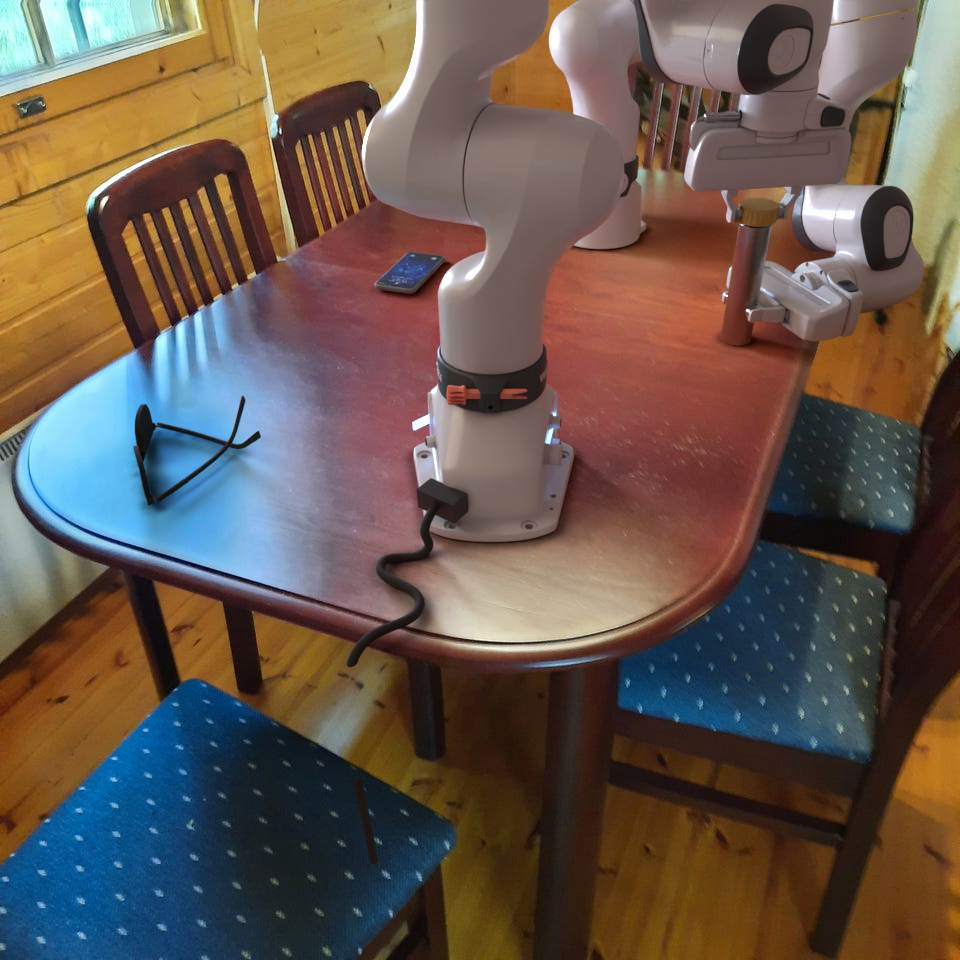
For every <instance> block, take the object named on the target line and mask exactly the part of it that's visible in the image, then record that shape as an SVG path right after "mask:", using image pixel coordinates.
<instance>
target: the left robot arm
mask: <svg viewBox="0 0 960 960" xmlns="http://www.w3.org/2000/svg"><path fill="white" fill-rule="evenodd" d="M833 4H834V0H634V5H635V9H636V14H637V21H638V43H639V52H640V56H641V60H642V61H641V62H642V64H643V67H644V70H645V71H646V72H647V74H648V75H649V77H650V78H651V79H652V80H653V81H655V82H658V83H660V84H668V85H680V86H692V87H697V88H701V89H708V90H713V91H716V92H717V91H719V92H725V93H730V94H737V95H740V96H739V102H738V108H737V110H726V111H720V112H715V111H709V112H705V113H703V115H702V116H699V117H698V118H696V119H695V120H694V121H693V122H692V124H691V125H690V130H689V139H688V144H689V150H688V154H687V158H686V161H685V162H686V163H685V167H684V175H683V178H684V182H685V183H686V185H687V186H688V187H689V188H690V189H691V190H692V191H693V192H695V193H703V192H705V193H706V192H720V194H721V196H722V197H721V198H723V201H724V203H725V205H726V207H727V210H726V214H725V219H726V220H725V221H726V222H727V223H729V224H736V223H738V224H739V222H741V219H742V218H741V216H742V213H743V210H742V209H741V208H740V207H739V205H736V204H735V202H734V199H737V198H738V192H739V191H740V190H759V189H761V190H762V189H778V188H779V189H780V188H783V189H784V190H785V191H786V192H785V193H784V195H783V197H782V198H781V200H780V201H779V202H777V203H778V204H779V208H778V209H779V212H778V217H777V221H787V220H788V218H789V217H788V216H789V211H790V208H791V207H792V206H794V204H795V201H796V200H797V198H798V197H799V196H800V195H801V190H802V186H814V185H833V184H838V183H839V182H840V181H841V180H842V179H843V178H844V177H845V176H846V174H847V171H848V167H849V162H850V156H851V148H852V135H851V132H850V129H849V130H848V129H847V128H845V127H847V126H849V125H851V123H852V121H853V118H854V114H853V110H852V109H850V108H849V107H848V106H846V105H845V104H843V103H841V102H839V101H837V100H835V99H833V98H830V97H828V96H825V95H823V94H820V93H817V91H818V86H819V68H820V64H821V60H822V55H823V52H824V50H825V48H826V45H827V41H828V36H829V31H830V26H832V24H831V19H832V12H833ZM549 16H550V0H416V28H415V38H414V39H415V41H414V47H413V51H412V56H411V59H410V63H409V66H408V68H407V72H406V74H405V76H404V79H403V80H402V82H401V84H400V86H399V88H398V89H397V91H396V92H395V94H394V95H393V96H392V97H391V99H390V100H388V101H387V102H386V103H385V104H384V105H383V106H382V107H380V109H379V110H378V111H377V112H376V113H375V115H374V116H373V117H372V119H371V120H370V123H368V125H367V128H366V130H365V134H364V137H363V142H362V147H361V148H362V149H361V163H362V168H363V169H362V170H363V174H364V177H365V180H366V182H367V185H368V187H369V189H370V191H371V193H372V194H373V195H374V197H375V198H376V199H377V200H378V201H380V202H381V203H383V204H385V205H387V206H390V207H393V208H395V209H397V210H399V211H402V212H405V213H408V214H409V215H412V216H414V217H415V216H416V217H417V218H421V219H428V220H435V221H440V222H448V223H453V224H454V223H455V224H462V225H466V226H467V225H469V226H475V227H478V228H481V229H483V230H484V233H485V249H484V250H481V251H479V252H477V253H473V254H471V255H469V256H467V257H465V258H462V259H461V260H459V261H458V262H455V263H454V264H453V265H452V266H451V267H450V268H449V269H448V270H447V271H446V273H445V274H444V275H443V277H442V278H441V281H440V284H439V287H438V290H437V307H438V324H439V326H438V327H439V340H440V341H439V342H440V345H439V346H438V348H437V354H436V356H437V358H436V363H435V364H436V376H437V384H436V385H435V387H434V386H433V388H432V389H431V390H430V391H428V392H427V406H428V407H427V409H428V414H427V415H425V416H422V417H420V418H418V419H416V420H414V421H412V430H413V431H417V430H418V429H420V428H422V427H425V426H426V425H428V424H429V435H426V436H425V438H424V442H422V443H419V444H417V445H416V446H415V447H414V448H413V454H412V455H413V457H412V458H413V464H414V470H415V475H416V476H415V477H416V480H417V488H416V500H417V508H419V509H420V510H422V516H423V518H422V520H421V523H420V529H419V533H420V538H421V540H422V542H423V547H422V548H421V549H419V550H416V551H412V552H396V553H395V552H394V553H388V554H385V555H383V556H381V557H380V558H379V559H378V560H377V563H376V565H375V566H376V567H375V571H376V574H377V576H378V577H379V579H381V581H383V582H384V583H386V584H388V585H389V586H392V587H393V588H396V589H397V590H400V591H401V592H404V593H405V594H407V595H409V596H410V597H411V598H412V599H413V600H414V607H413V608H412V609H411V611H409V612H408V613H406V614H404V615H403V616H400V617H398V618H396V619H393V620H390V621H388V622H385V623H384V624H381V625H379V626H377V627H374V628H372V629H371V630H370V631H368V632H367V633H365V634H364V635H363V636H362V637H361V638H360V639H359V640H358V641H357V642H356V643H355V645H354V646H353V647H352V649H351V651H350V653H349V655H348V658H347V660H346V667H348V668H354V667H356V665H357V664H358V662H359V660H360V659H361V656H362V655H363V653H364V651H365V650H366V649H367V648H368V647H369V646H370V645H371V644H372V643H374V642H375V641H376V640H378V639H380V638H381V637H383V636H385V635H387V634H390V633H392V632H395V631H397V630H400V629H403V628H405V627H408V626H409V625H411V624H412V623H414V622H416V621H417V620H418V619H419V618H420V617H421V615H422V614H423V612H424V609H425V605H426V602H425V601H426V600H425V597H424V596H423V593H422V591H420V590H419V588H417V587H416V586H414V585H413V584H411V583H409V582H407V581H405V580H403V579H401V578H399V577H397V576H394V575H393V574H392V573H390V572H388V571H387V570H386V568H387V565H389V564H391V563H392V564H393V563H408V562H416V561H420V560H423V559H425V558H426V557H427V556H429V554H431V552H432V551H433V549H434V540H433V538H432V536H431V533H432V534H434V535H437V536H440V537H443V538H448V539H452V540H457V541H466V542H477V543H478V542H480V543H500V542H501V543H502V542H503V543H506V542H518V541H527V540H531V539H536V538H539V537H543V536H546V535H548V534H550V533H552V532H554V531H556V530H557V527H558V525H559V520H560V518H561V517H560V516H561V512H562V508H563V504H564V500H565V497H566V492H567V488H568V483H569V480H570V476H571V472H572V469H573V468H572V467H573V464H574V459H575V450H574V447H573V446H571V445H570V444H568V443H566V442H563V441H561V439H560V438H558V430H560V429H561V428H562V416H559V392H557V391H556V390H555V389H554V388H553V387H552V386H551V385H550V384H549V383H548V382H547V379H548V367H549V361H548V356H547V355H548V354H547V353H548V351H547V347H546V345H545V344H544V332H545V331H544V330H545V329H544V328H545V315H546V303H547V298H548V290H549V286H550V281H551V279H552V276H553V274H554V272H555V269H556V268H557V266H558V264H559V263H560V261H561V260H562V258H564V255H565V254H566V253H567V252H568V251H569V250H570V249H571V248H572V247H574V246H573V245H574V244H575V243H577V242H578V241H579V240H581V239H582V238H584V237H585V236H587V235H589V234H591V233H592V232H594V231H595V230H596V229H598V228H599V227H600V226H601V225H602V224H603V223H604V222H605V221H606V220H607V219H608V217H609V216H610V215H611V213H612V212H613V210H614V208H615V207H616V205H617V203H618V200H619V198H620V195H621V192H622V187H623V182H624V162H623V156H622V152H621V149H620V146H619V144H618V141H617V139H616V138H615V136H614V134H613V133H612V131H611V130H610V128H609V127H608V126H606V125H604V124H602V123H599V122H596V121H593V120H590V119H588V118H585V117H582V116H578V115H575V114H573V112H568V111H565V110H562V109H554V108H553V109H552V108H542V107H530V106H522V105H509V104H500V103H499V104H498V103H496V102H493V99H492V82H493V76H494V74H495V70H497V69H500V68H501V67H504V66H506V65H507V64H509V63H511V62H512V61H514V60H516V59H518V58H519V57H521V56H522V55H524V54H525V53H527V52H528V51H530V50H531V49H532V48H533V47H534V46H535V45H536V44H537V42H539V40H540V38H541V36H542V35H543V34H544V31H545V28H546V26H547V23H548V20H549ZM849 127H850V126H849ZM352 782H353V786H354V793H355V798H356V802H357V808H358V813H359V817H360V823H361V826H362V832H363V837H364V841H365V847H366V852H367V856H368V857H367V858H368V862H370V863H371V864H373V865H374V864H376V863H377V862H378V863H379V859H378V851H377V846H376V840H375V835H374V831H373V826H372V822H371V817H370V812H369V811H370V810H369V806H368V801H367V796H366V795H367V794H366V790H365V784H364V778H363V777H360V778H357V779H354V780H353V781H352ZM370 863H369V864H370Z"/></svg>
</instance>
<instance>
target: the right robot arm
mask: <svg viewBox="0 0 960 960" xmlns="http://www.w3.org/2000/svg"><path fill="white" fill-rule="evenodd" d="M917 31H918V0H834V4H833V12H832V19H831V25H830V31H829V36H828V41H827V45H826V48H825V50H824V52H823V54H822V56H821V59H820V64H819V86H818V91H817V93H820V94H823V95H825V96H828V97H830V98H833V99H835V100H837V101H839V102H841V103H843V104H845V105H846V106H848V107H849V108H850V109H852V110H853V115H854V114H855V113H856V112H857V109H858V108H859V107H860V106H861V105H862V104H863V103H864V102H865V101H866V100H867V99H868V98H871V96H873V95H874V94H876V93H878V92H880V91H882V89H884V88H886V87H887V86H888V85H890V84H891V83H892V82H893V81H894V80H895V79H896V78H897V77H898V76H899V75H900V74H901V73H902V72H903V71H904V69H905V68H906V67H907V65H908V64H909V62H910V61H911V58H912V57H913V52H914V49H915V45H916V39H917ZM548 47H549V52H550V55H551V58H552V60H553V62H554V64H555V65H556V67H557V68H558V69H559V71H561V72H562V73H563V75H564V77H565V79H566V81H567V85H568V88H569V93H570V97H571V104H572V114H575V115H578V116H582V117H585V118H588V119H590V120H593V121H596V122H599V123H602V124H604V125H606V126H608V127H609V128H610V130H611V131H612V133H613V134H614V136H615V138H616V139H617V141H618V144H619V146H620V149H621V152H622V156H623V162H624V182H623V187H622V192H621V195H620V198H619V200H618V203H617V205H616V207H615V208H614V210H613V212H612V213H611V215H610V216H609V217H608V219H607V220H606V221H605V222H604V223H603V224H602V225H601V226H600V227H599V228H598V229H596V230H595V231H594V232H592V233H591V234H589V235H587V236H585V237H584V238H582V239H581V240H579V241H578V242H577V243H575V244H574V245H573V246H572V247H578V248H582V249H591V250H610V249H618V248H624V247H626V246H630V245H632V244H634V243H635V242H637V241H638V240H639V238H640V235H641V234H642V233H643V232H645V231H646V230H647V223H646V222H645V221H642V201H643V200H642V198H643V197H642V194H643V190H642V185H641V184H640V183H639V182H638V181H637V179H638V176H639V174H638V173H639V169H640V163H639V160H640V159H639V155H638V145H639V143H638V142H639V131H640V119H641V109H640V106H639V104H638V103H637V102H636V99H633V97H632V93H631V90H630V84H629V77H628V69H629V66H630V65H634V64H637V63H640V62H642V60H641V56H640V52H639V43H638V21H637V14H636V9H635V5H634V0H577V1H575V2H573V3H572V4H571V5H569V6H568V7H566V8H565V9H563V10H561V12H560V13H559V14H557V16H556V17H555V18H554V19H553V21H552V24H551V26H550V30H549V35H548ZM850 125H851V124H850ZM850 125H849V126H847V127H845V128H847V129H848V130H849V131H850ZM791 214H792V215H791V226H792V227H791V228H792V232H793V235H794V237H795V239H796V240H797V243H799V245H800V246H801V247H803V248H804V249H805V250H807V251H809V252H815V253H835V254H834V255H833V256H832V257H826V258H821V259H816V260H811V261H810V260H809V261H805V262H802V263H801V264H799V265H798V266H796V268H795V270H794V271H791V270H789V269H788V268H786V267H784V266H783V265H781V264H779V263H778V262H776V261H772V260H766V261H765V267H764V272H763V278H762V283H761V288H760V294H759V299H758V305H756V306H752V307H747V308H746V309H745V315H744V318H745V319H747V320H748V321H749V322H750V323H754V324H755V323H759V322H760V323H767V324H768V323H770V324H779V325H781V326H782V327H784V328H785V329H787V330H788V331H790V332H791V333H792V334H794V335H795V336H797V337H798V338H800V339H801V340H803V341H806V342H813V343H815V342H816V343H817V342H822V341H828V340H833V339H836V338H837V339H838V338H839V337H842V338H843V337H846V338H847V337H851V336H853V335H854V333H855V331H856V328H857V325H858V322H859V319H860V315H861V314H866V313H867V314H868V313H871V312H876V311H879V310H882V309H883V310H884V309H886V308H890V307H892V306H895V305H898V304H900V303H902V302H904V301H906V300H907V299H909V298H910V297H911V296H913V295H914V294H915V293H916V292H917V290H919V288H920V286H921V284H922V282H923V280H924V275H925V265H924V264H925V263H924V260H923V258H922V256H921V254H920V253H919V251H918V250H917V249H916V247H915V245H914V241H913V231H914V220H915V219H914V215H915V214H914V208H913V205H912V201H911V199H910V197H909V196H908V195H907V193H906V192H905V191H904V190H902V188H900V187H898V186H895V185H880V184H850V183H848V181H847V180H846V177H845V176H844V178H843V179H842V180H841V181H840V182H839V183H838V184H833V185H814V186H802V190H801V195H800V196H799V197H798V198H797V200H796V201H795V202H794V204H793V208H792V213H791ZM731 270H732V265H731V266H730V267H728V271H727V275H726V276H727V277H726V283H725V284H726V288H727V290H725V291H723V292H722V295H721V303H722V304H723V305H725V306H726V301H727V295H728V289H729V283H730V276H731Z"/></svg>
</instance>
